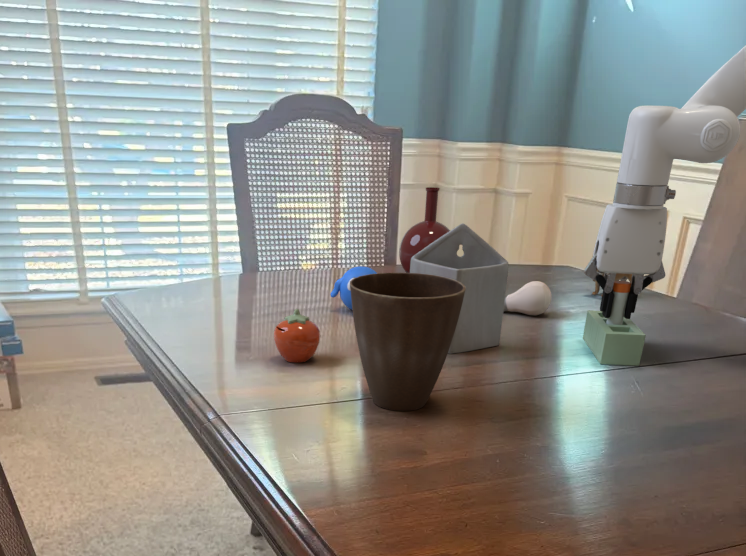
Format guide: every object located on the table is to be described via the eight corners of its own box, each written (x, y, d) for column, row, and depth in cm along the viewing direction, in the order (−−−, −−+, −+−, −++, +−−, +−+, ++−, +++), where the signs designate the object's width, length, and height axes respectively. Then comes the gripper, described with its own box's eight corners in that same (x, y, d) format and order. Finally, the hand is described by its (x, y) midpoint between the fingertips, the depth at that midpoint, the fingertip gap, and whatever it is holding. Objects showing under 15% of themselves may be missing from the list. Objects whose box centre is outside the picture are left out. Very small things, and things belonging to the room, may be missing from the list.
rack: (582, 338, 138) (587, 310, 136) (617, 339, 138) (623, 311, 136) (600, 364, 125) (606, 333, 122) (639, 365, 124) (645, 335, 122)
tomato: (268, 355, 126) (267, 305, 122) (311, 351, 128) (311, 302, 124) (281, 368, 120) (280, 316, 116) (326, 363, 122) (327, 312, 118)
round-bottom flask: (391, 276, 184) (396, 185, 174) (444, 275, 186) (452, 185, 176) (405, 288, 173) (411, 191, 163) (461, 287, 175) (470, 191, 165)
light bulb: (490, 288, 151) (547, 277, 147) (496, 289, 157) (551, 278, 153) (494, 323, 153) (551, 312, 148) (500, 322, 158) (555, 312, 154)
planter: (401, 350, 129) (408, 227, 120) (405, 338, 136) (413, 220, 126) (499, 357, 127) (514, 232, 117) (499, 344, 134) (513, 225, 124)
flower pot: (476, 404, 107) (489, 285, 99) (404, 430, 98) (413, 302, 90) (396, 378, 116) (402, 268, 108) (324, 400, 107) (325, 281, 99)
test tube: (616, 341, 132) (629, 280, 127) (620, 345, 129) (633, 284, 125) (600, 340, 132) (611, 280, 127) (603, 344, 130) (615, 283, 125)
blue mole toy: (330, 320, 146) (331, 274, 142) (329, 305, 157) (330, 262, 152) (393, 320, 147) (396, 275, 143) (388, 306, 157) (390, 263, 153)
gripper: (685, 196, 122) (659, 313, 131) (582, 192, 123) (562, 309, 132) (700, 201, 116) (671, 324, 125) (591, 197, 117) (570, 320, 126)
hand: (615, 315), depth 128 cm, fingers closed on test tube, 2 cm apart
